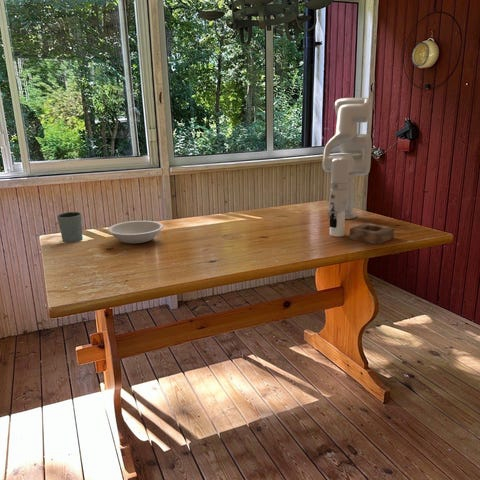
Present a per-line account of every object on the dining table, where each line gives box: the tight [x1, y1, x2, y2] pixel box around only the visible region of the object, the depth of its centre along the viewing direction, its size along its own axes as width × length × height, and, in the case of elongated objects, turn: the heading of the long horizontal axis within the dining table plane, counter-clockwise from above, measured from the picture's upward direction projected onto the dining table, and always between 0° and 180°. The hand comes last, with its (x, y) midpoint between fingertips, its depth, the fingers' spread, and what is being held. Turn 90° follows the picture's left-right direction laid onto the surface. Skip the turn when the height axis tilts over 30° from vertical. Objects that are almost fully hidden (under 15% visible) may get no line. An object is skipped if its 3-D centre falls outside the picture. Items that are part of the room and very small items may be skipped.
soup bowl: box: [107, 220, 164, 245], centre depth 198 cm, size 24×24×7 cm
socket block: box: [348, 222, 395, 246], centre depth 198 cm, size 14×14×4 cm
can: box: [329, 210, 346, 238], centre depth 202 cm, size 6×6×12 cm
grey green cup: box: [56, 211, 83, 244], centre depth 201 cm, size 10×10×12 cm
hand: (337, 225), depth 203 cm, fingers closed on can, 6 cm apart
